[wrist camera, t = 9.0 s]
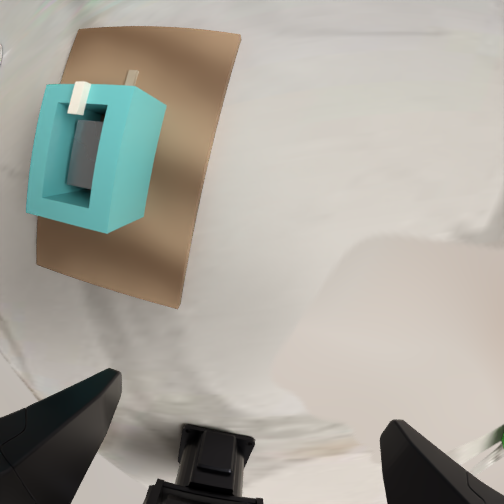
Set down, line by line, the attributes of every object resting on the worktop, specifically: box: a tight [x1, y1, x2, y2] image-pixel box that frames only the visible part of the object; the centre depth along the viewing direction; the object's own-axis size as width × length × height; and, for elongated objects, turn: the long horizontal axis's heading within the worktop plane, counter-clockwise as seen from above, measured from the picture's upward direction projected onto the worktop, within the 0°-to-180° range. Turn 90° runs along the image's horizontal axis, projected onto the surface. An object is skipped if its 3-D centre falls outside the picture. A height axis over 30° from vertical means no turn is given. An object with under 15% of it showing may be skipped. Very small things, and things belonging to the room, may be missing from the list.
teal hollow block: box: [26, 81, 167, 234], centre depth 15 cm, size 7×6×6 cm
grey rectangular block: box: [67, 120, 104, 189], centre depth 16 cm, size 4×2×4 cm, turn 167°
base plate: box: [37, 26, 241, 309], centre depth 17 cm, size 18×12×1 cm, turn 166°
